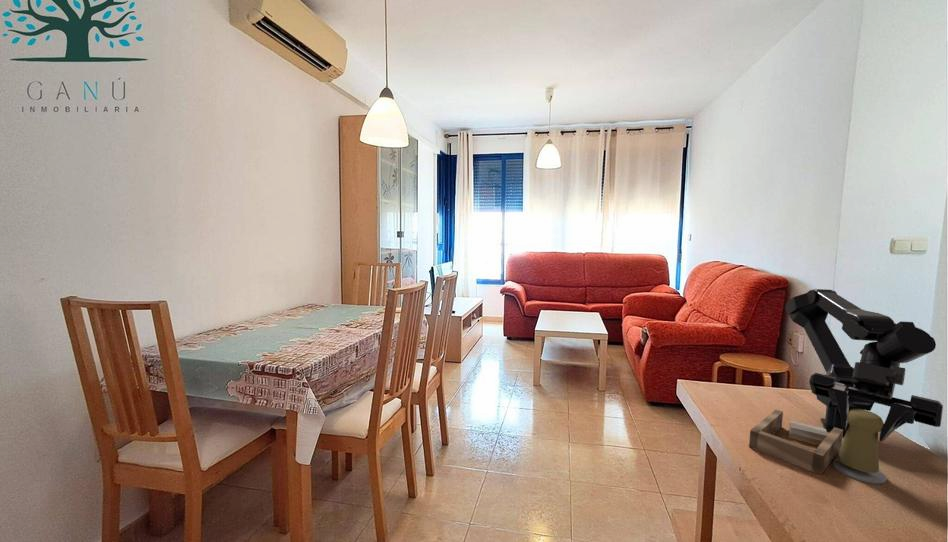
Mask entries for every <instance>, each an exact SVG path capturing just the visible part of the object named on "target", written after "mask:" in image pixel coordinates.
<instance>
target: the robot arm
mask: <svg viewBox="0 0 948 542" xmlns="http://www.w3.org/2000/svg"><path fill="white" fill-rule="evenodd" d="M784 308H785V312H786V313H787V315H788V317H789V318H790V319H791V321H792V322H793V323H795V324H796V325H797V326H799V327H801V328H803V329H804V331H805V333H806V335H807V337H808V339H809V342H810V343H811V345H812V347H813V349H814V351H815V352H816V355H817V356H818V359H819V361H820V363H821V365H822V367H823V369H824V371H825V374H824V373H820V372H819V373H818V372H814V373H813V374H811V375H810V378H809V387H810V390H811V394H814V395H815V396H816V399H817V400H818V401H819V402H820V403H822V405H825V414H824V415H825V416H824V418H823V417H822V418H820V420H819V421H820V423H821V424H822V426H823V429H826V431H827V432H831V430H832V429H833V428H834V427H835V428H839V429H842V430H843V435H845V434H846V431H847V429H848V426H849V423H848V422H847V413H848V412H849V411H850V410H852V409H862V410H866V411H870V412H872V408H873V406H874V404H879V405H883V406H886V407H890V408H889V411H888V413H887V416H886V418H885V421H884V422H883V423H884V425H883V428H882V430H881V431H880V432H879V433H880V434H879V436H878V442H881V443H883V442H884V441H885V440H886V439H887V438H888V437H889V436H890V435H891V434H893V433H894V432H895V431H896V430H897V429H899V428H900V427H901V426H903V425H904V424H909V425H910V424H911V425H913V424H914V422H916V423H921V424H924V425H928V426H932V427H935V428H937V427H938V428H940V427H941V424H942V418H943V410H944V409H943V408H944V405H943V403H941V401H939V400H936V399H932V398H927V397H923V396H918V395H914V394H912V395H911V396H910V400H908V399H907V400H906V399H902V398H898V397H894V391H895V387H896V385H899V386H904V383H905V375H906V370H907V369H906V367H900V365H901V364H908V363H909V362H913V361H914V360H917V359H919V358H921V357H923V356H926V355H928V354H930V353H932V352H933V351H934V350H935V349H936V346H937V343H936V340H935V338H934V337H932V336H931V335H930V334H929V333H928V332H926V331H925V330H923V329H922V328H920V327H917V326H916V325H915V323H914V322H913V321H899V322H897V323H895V321H894V320H893V318H891V317H890V316H888V315H886V314H882V313H879V312H876V311H875V312H874V311H869V310H865V309H862V308H861V307H859V306H857V305H856V304H854V303H852V302H851V301H849V300H847V299H846V298H844V297H843V296H841V295H839V294H838V293H837V292H836V291H835V290H832V289H825V288H824V289H821V288H814V289H810V290H808V291H807V292H806V293H802V294H799V295H796V296H793V297H792V298H790V299H789V300H788V301H787V302H786V303H785V307H784ZM828 315H830V316H831V317H833V318H834V319H835V320H837V321H838V322H840V323H841V325H842V326H841V330H842V331H843V332H844V333H845V334H846V335H847V336H848V337H849V338H850V339H851V340H854V341H866V342H867V341H869V342H868V343H866V344H865V345H864V346H863V348H862V349H861V350H860V352H859V354H860V356H861V357H860V361H855V362H854V366H851V364H850V362H849V361H848V359H847V357H846V355H845V354H844V352H843V350H842V349H841V347H840V345H839V343H838V341H837V339H836V337H835V335H834V334H833V333H832V331H831V329H830V327H829V325H828V324H827V321H826V320H827V318H828Z"/></svg>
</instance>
